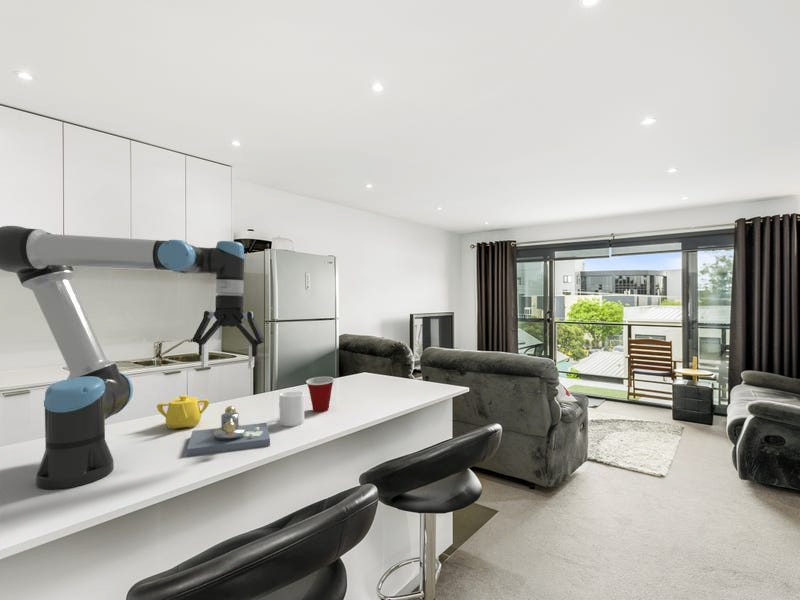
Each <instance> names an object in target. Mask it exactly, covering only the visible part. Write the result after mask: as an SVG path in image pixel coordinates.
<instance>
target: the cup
mask: <svg viewBox="0 0 800 600" xmlns="http://www.w3.org/2000/svg"><path fill="white" fill-rule="evenodd" d="M278 397H279V398H278V399H279V402H278V404H279V405H278V406H279V407H278V408H279V424H280V425H281V426H283V427H297V426H300V425H303V423H305V393H304V391H299V390H297V391H293V390H291V391H285V392H282V393H280V394H279V396H278Z"/></svg>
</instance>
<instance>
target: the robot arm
mask: <svg viewBox="0 0 800 600" xmlns="http://www.w3.org/2000/svg"><path fill="white" fill-rule="evenodd" d="M73 267H83V268H84V267H87V268H88V267H89V268H111V269H138V270H140V269H141V270H160V271H172V272H173V273H177V274H179V273H180V274H210V275H212V274H213V275H214V274H215V276H216V277H215V293H216V294H217V295H216V296H215V307H214V308H215V311H212V310H205V311H204V312H203V317H202V320H201V322H200V324H199V325H198V327H197V329H196V331H195V334H194V335H193V337H192V339H191V342H193V343H196V344H198V356H201V361H200V362H201V366H200V368H206V367H209V349H210V348H209V343H208V341H209V340H210V339H211V338H212V336H214V334H215V333H216V332H217V331H218V330H219V328H221V327H223V328H224V327H230V328H232V327H236V328H237V329H238V330H239V331H240V332H241V333H242V335H243V336H244V337H245V339H247V341H248V342H249V343H250V345H249V346H248V367H247V368H248V369H249V370H250V369H253V368H254V367H255V358H256V357H257V356H258V355H259V351H258V348H259V345H261V344H263V343H265V342H266V341H265V338H264V336H263V334H262V332H261V330H260V328H259V326H258V323H257V322H256V319H255V312H254V311H247V312H244V296H243V294H244V280H245V279H244V278H245V277H244V275H245V247H244V245H243V244H242V243H241V242H238V241H231V240H220V241H218V242H217V243H216V246H215V247H198V246H194V245H193V244H190V243H188V242H187V241H184V240H183V239H182V240H180V239H169V240H159V239H142V238H140V239H139V238H127V237H125V238H124V237H123V238H122V237H107V236H90V235H89V236H87V235H74V234H73V235H72V234H70V235H69V234H57V233H56V234H54V233H50V232H49V231H45V230H44V229H39V228H27V227H24V226H18V225H4V226H3V225H2V226H0V270H1V271H4V272H8V273H15V274H16V276H17V277H18V279H19V282H20V284H21V286H22V287H23V288H25V289H28V290H31V291H32V292H33V295H34V297H35V299H36V301H37V303H38V306H39V308H40V310H41V312H42V314H43V316H44V318H45V321H46V322H47V325H48V327H49V329H50V332H51V334H52V336H53V338H54V340H55V343H56V345H57V347H58V349H59V352H60V353H61V355H62V358H63V360H64V362H65V364H66V366H67V368H68V371H69V374H68V377H67V378H66V379H63V380H59V381H57V382H54V383H52V384H51V385H49V386H48V387H47V388H46V391H45V392H44V393H45V395H44V400H43V407H44V433H45V435H44V438H45V440H44V441H45V449H44V453H43V456H42V458H41V461H40V464H39V467H38V470H37V471H36V472H37V473H36V477H35V479H36V481H35V483H36V487H38V488H39V489H43V490H44V489H45V490H60V489H61V490H62V489H67V488H74V487H78V486H82V485H85V484H88V483H92V482H95V481H99V480H100V479H102V478H104V477H106V476H108V475H109V474H111V473H112V472H113V471H114V467H115V466H114V465H115V464H114V463H115V462H114V458H113V455H112V453H111V451H110V449H109V446H108V443H107V441H106V426H105V425H106V423H105V421H106V420H107V419H108V418H110V417H112V416H114V415H117V414H119V413H120V412H121V411H122V410H123V409H124V408H125V407H126V406H127V405H128V404H129V403H130V401H131V400H132V397H133V393H134V387H133V383H132V380H131V379H130V378H129V376H127V375H125V373H122V372H120V371H119V369H118V367H117V364H116V363H115V362H114V361H112V360H109V359H107V358H106V356H105V353H104V351H103V348H102V346H101V345H100V343H99V340H98V337H97V335H96V333H95V331H94V329H93V327H92V324H91V322H90V320H89V318H88V315H87V313H86V310H85V309H84V307H83V304H82V302H81V300H80V298H79V296H78V294H77V292H76V290H75V289H76V288H75V287H74V285H73V282H72V279H73V277H74V275H75V271H74V269H73ZM213 318H215V319H216V320H215V321H214V323H213V324H212V325H211V327H210V328H209V329H208V330H207V331H206V329H207V327H208V326H209V323H210V321H211V319H213ZM244 318H245V320H247V322H248V324H249V326H250V329H251V331H252V333H251V331H250V329H248V327H247V326H246V324H245V323H244V321H243V319H244ZM205 331H206V333H205Z"/></svg>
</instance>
